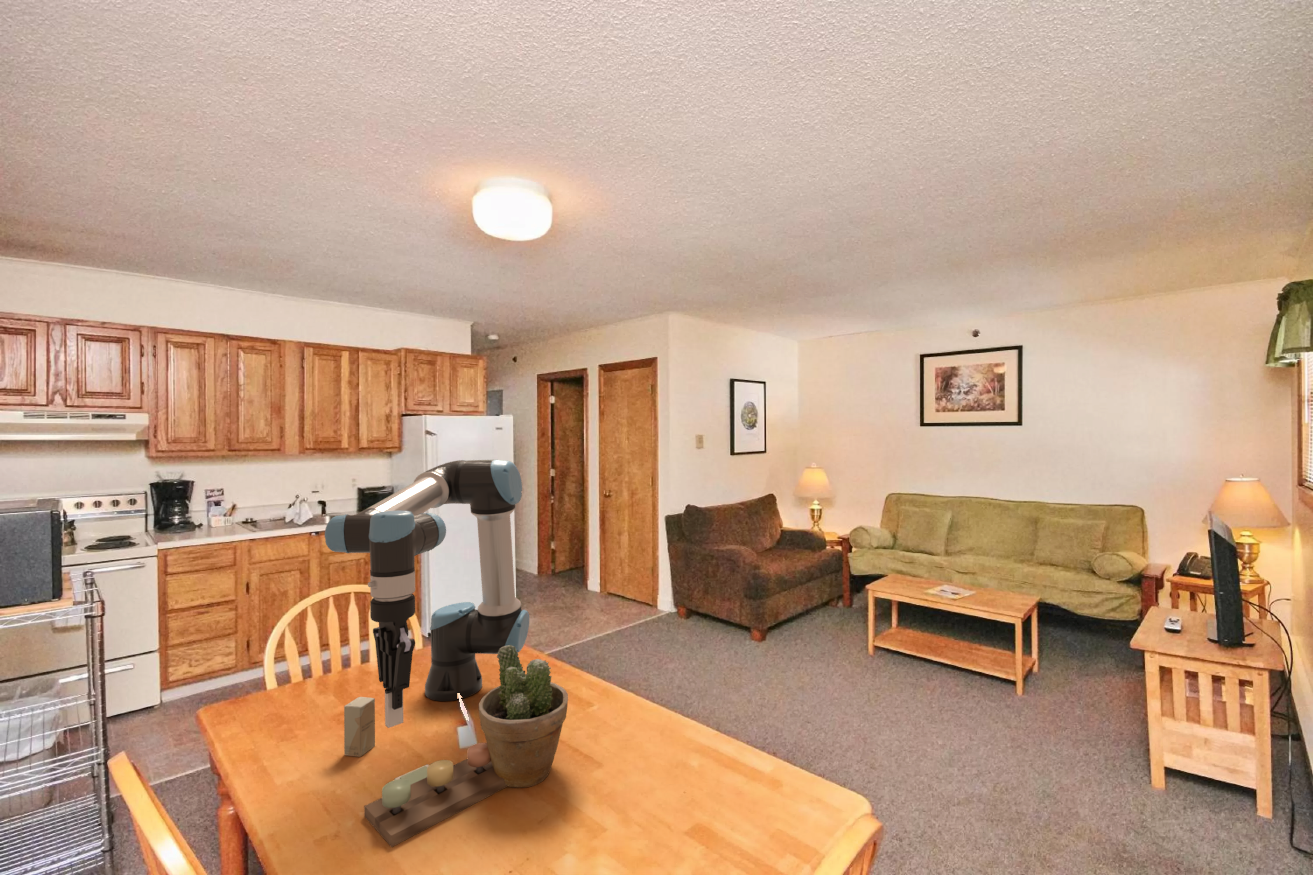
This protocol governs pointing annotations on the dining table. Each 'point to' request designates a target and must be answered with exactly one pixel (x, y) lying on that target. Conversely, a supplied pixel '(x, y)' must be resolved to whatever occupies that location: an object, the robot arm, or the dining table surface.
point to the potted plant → (523, 720)
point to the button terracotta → (478, 756)
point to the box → (359, 726)
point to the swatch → (415, 774)
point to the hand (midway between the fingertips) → (394, 723)
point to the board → (433, 802)
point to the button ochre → (440, 774)
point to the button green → (396, 794)
